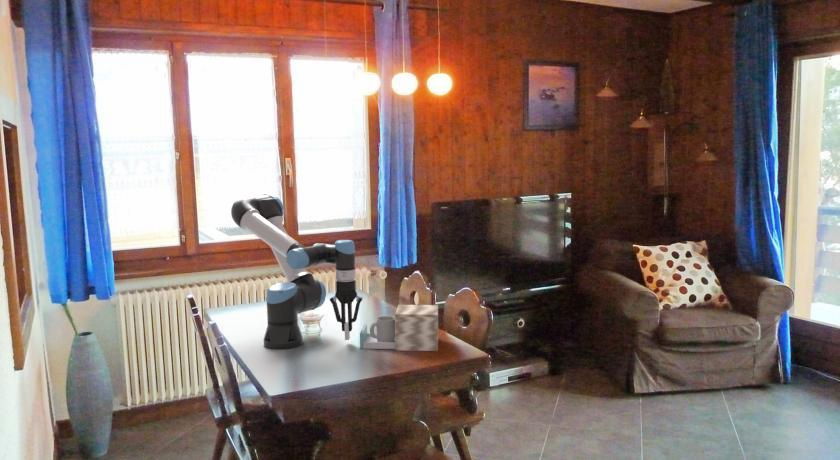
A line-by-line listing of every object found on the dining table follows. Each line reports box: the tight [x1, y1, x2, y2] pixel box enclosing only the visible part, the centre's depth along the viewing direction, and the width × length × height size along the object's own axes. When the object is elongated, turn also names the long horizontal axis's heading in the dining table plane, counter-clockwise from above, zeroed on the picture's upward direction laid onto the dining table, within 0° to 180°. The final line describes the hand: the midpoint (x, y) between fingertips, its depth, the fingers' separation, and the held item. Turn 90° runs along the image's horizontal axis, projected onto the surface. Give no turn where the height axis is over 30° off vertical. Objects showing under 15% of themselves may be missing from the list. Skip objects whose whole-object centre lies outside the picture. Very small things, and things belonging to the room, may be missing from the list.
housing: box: [394, 304, 439, 352], centre depth 253 cm, size 16×15×14 cm
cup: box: [369, 315, 395, 342], centre depth 254 cm, size 7×10×9 cm
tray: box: [359, 323, 396, 350], centre depth 254 cm, size 19×13×6 cm
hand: (347, 339), depth 255 cm, fingers closed
